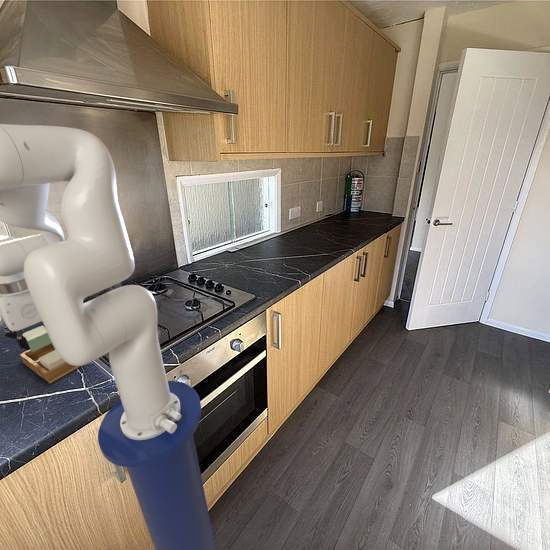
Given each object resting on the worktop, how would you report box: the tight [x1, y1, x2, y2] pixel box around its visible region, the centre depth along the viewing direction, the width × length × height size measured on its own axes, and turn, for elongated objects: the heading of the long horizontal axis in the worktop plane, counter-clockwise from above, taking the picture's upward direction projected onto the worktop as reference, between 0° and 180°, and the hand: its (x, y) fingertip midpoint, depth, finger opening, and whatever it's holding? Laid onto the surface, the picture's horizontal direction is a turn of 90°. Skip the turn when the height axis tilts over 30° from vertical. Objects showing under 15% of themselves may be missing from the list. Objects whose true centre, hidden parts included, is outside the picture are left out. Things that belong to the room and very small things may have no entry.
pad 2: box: [39, 350, 65, 371], centre depth 80 cm, size 6×6×4 cm
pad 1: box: [22, 325, 52, 352], centre depth 82 cm, size 6×6×4 cm
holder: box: [19, 343, 81, 384], centre depth 82 cm, size 16×8×3 cm, turn 59°
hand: (39, 342), depth 82 cm, fingers closed on pad 1, 5 cm apart
